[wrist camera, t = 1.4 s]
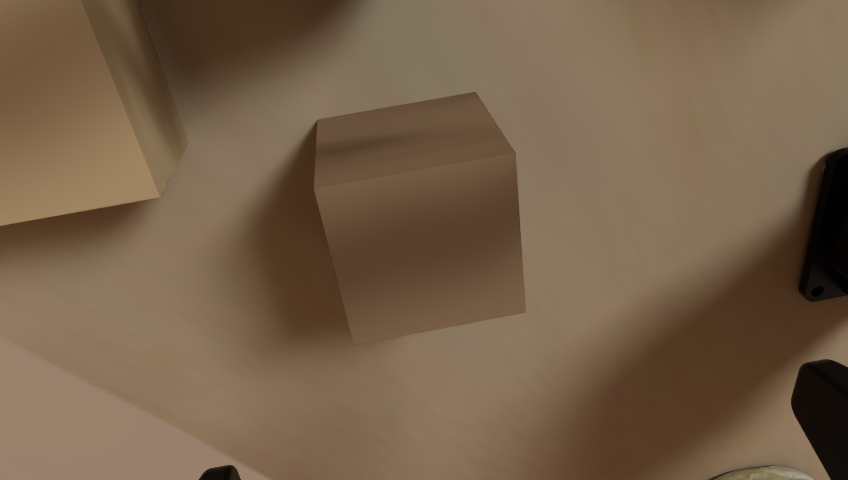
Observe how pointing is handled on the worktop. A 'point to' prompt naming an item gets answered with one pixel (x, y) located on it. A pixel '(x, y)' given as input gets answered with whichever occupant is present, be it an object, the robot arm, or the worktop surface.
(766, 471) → the bread roll
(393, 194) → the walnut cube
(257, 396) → the worktop surface
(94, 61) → the oak base block
